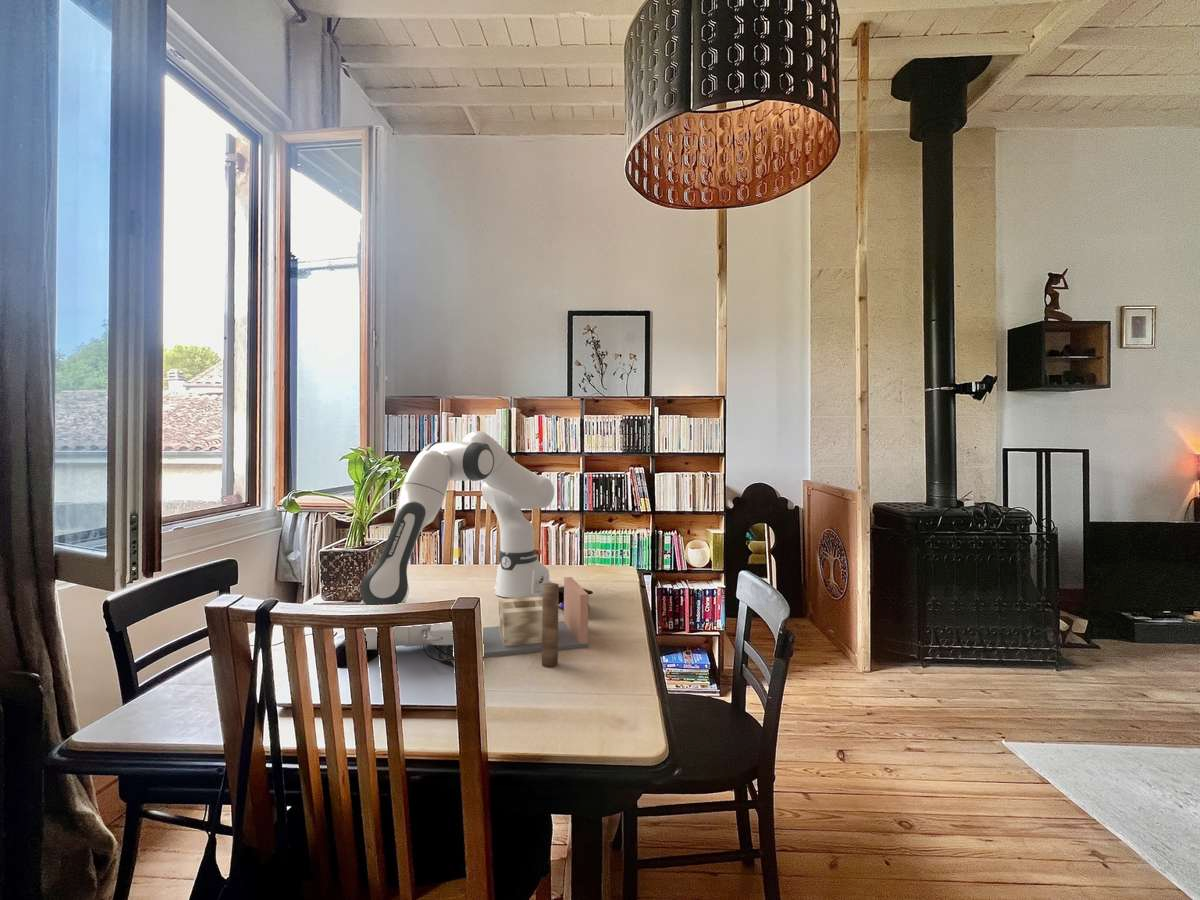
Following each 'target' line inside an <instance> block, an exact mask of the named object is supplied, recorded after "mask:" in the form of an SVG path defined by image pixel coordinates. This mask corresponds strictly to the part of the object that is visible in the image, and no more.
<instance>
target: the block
mask: <svg viewBox="0 0 1200 900" xmlns="http://www.w3.org/2000/svg"><path fill="white" fill-rule="evenodd" d="M542 600H543V595H542V596H539V597H523V598H499V599H498V626H499V632H500V635H501V638H502V641H503V644H504V646H511V645H522V644H533V643H542Z"/></svg>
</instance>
